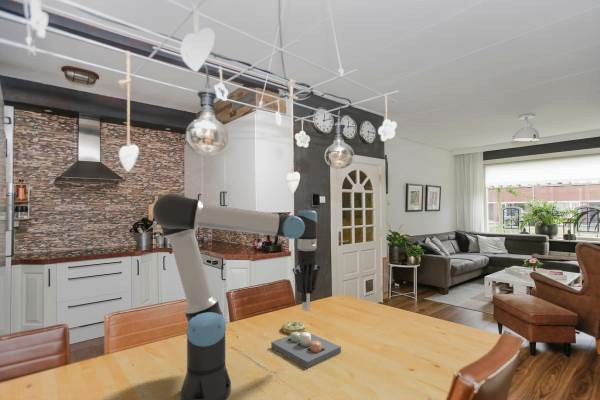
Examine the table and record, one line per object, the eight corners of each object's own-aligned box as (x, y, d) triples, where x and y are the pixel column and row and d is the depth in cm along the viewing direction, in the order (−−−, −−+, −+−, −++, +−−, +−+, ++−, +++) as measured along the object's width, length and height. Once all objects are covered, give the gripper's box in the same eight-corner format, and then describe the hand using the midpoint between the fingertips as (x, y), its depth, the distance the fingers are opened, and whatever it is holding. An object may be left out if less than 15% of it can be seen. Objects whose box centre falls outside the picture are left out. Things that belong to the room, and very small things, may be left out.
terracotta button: (315, 357, 117) (315, 346, 117) (307, 353, 121) (307, 343, 121) (323, 353, 120) (323, 343, 120) (315, 349, 124) (315, 339, 124)
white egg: (305, 347, 122) (305, 337, 122) (297, 344, 125) (297, 334, 125) (313, 344, 125) (313, 334, 125) (305, 340, 128) (305, 331, 128)
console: (307, 370, 111) (307, 362, 111) (271, 349, 127) (271, 342, 127) (340, 354, 123) (340, 346, 123) (303, 337, 139) (303, 330, 139)
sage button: (295, 346, 126) (295, 337, 126) (288, 343, 130) (288, 333, 130) (303, 343, 129) (303, 334, 129) (296, 340, 133) (296, 330, 133)
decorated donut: (308, 329, 148) (308, 322, 148) (297, 338, 138) (297, 329, 138) (290, 325, 153) (290, 318, 153) (277, 333, 144) (277, 325, 144)
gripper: (300, 251, 115) (299, 316, 114) (325, 249, 123) (324, 308, 122) (288, 249, 120) (287, 310, 120) (312, 247, 129) (311, 304, 128)
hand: (306, 309), depth 121 cm, fingers closed
